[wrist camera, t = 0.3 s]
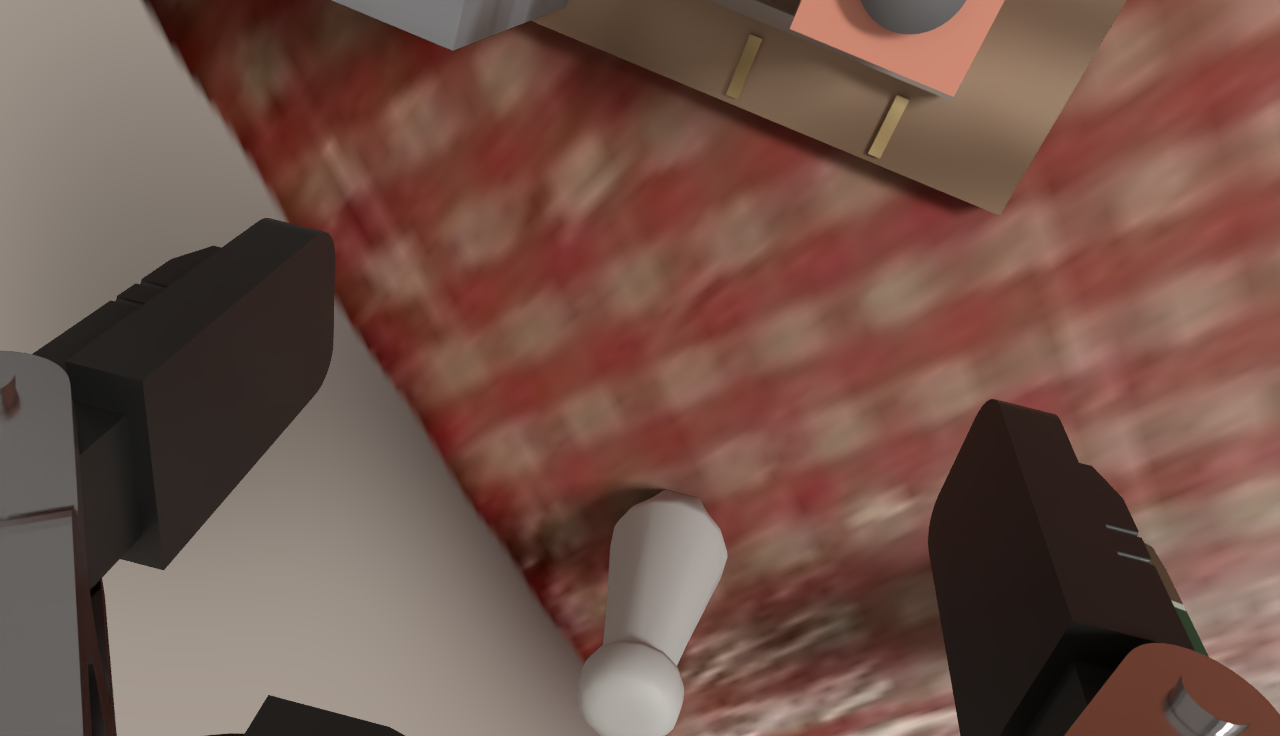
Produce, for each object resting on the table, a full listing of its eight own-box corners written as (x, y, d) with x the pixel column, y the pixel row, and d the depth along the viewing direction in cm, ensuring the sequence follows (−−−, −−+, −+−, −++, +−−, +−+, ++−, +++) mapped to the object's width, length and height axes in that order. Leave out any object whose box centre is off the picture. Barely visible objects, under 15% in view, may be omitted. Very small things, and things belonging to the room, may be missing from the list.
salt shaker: (701, 461, 46) (656, 647, 34) (750, 549, 47) (723, 753, 36) (601, 496, 48) (527, 682, 36) (651, 579, 50) (596, 781, 38)
